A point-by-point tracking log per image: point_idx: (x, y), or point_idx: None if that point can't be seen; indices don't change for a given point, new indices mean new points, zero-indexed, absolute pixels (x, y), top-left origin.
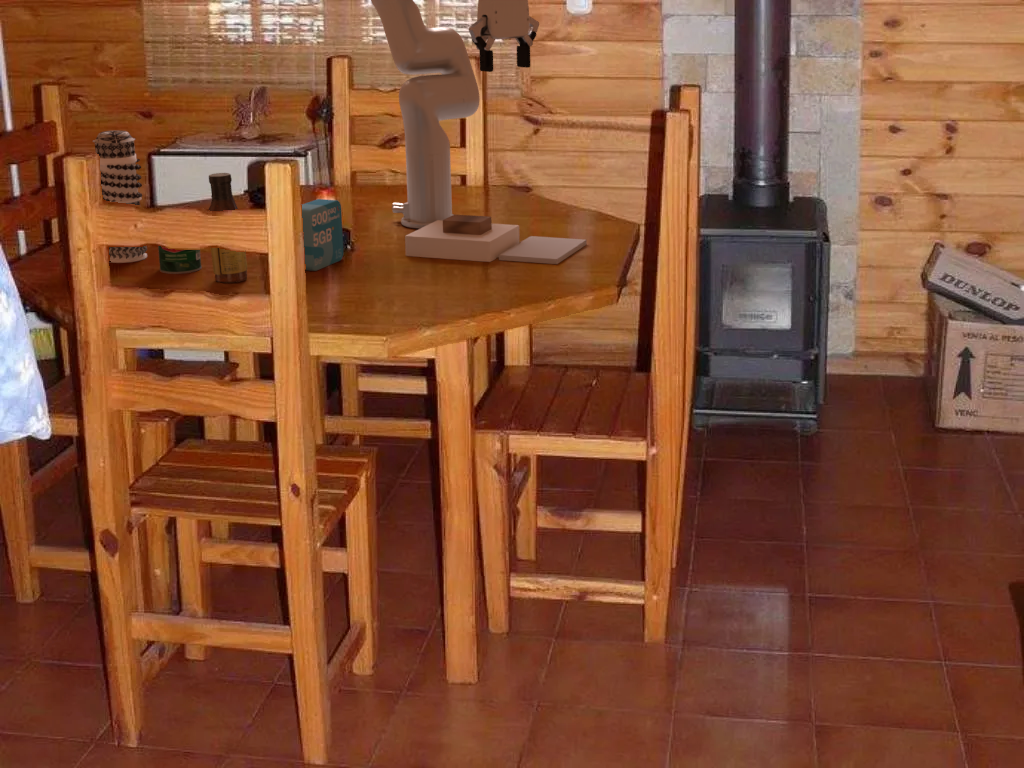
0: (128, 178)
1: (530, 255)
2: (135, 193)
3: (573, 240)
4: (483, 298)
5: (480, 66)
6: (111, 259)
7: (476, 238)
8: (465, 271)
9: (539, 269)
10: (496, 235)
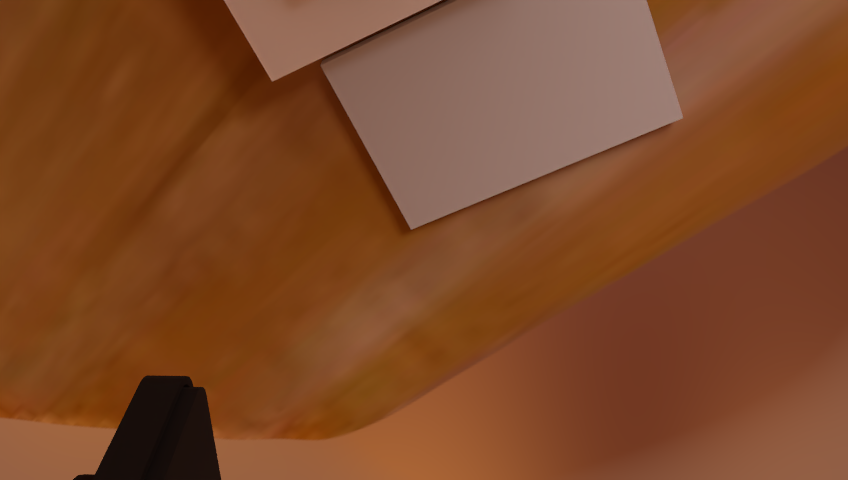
0: None
1: (389, 144)
2: None
3: (649, 94)
4: (34, 326)
5: (128, 423)
6: None
7: (267, 5)
8: (147, 94)
9: (332, 227)
10: (356, 23)
